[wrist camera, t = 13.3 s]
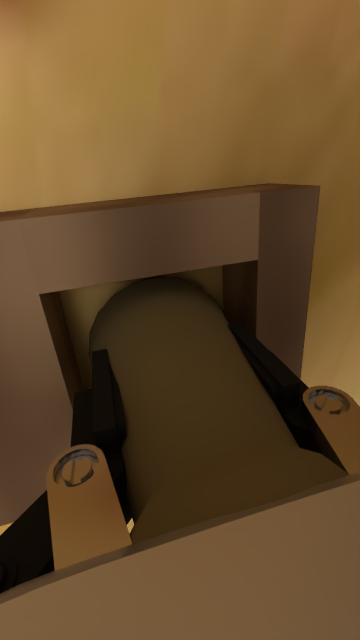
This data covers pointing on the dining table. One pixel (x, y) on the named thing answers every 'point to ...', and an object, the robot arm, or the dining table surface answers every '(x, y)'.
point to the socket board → (126, 264)
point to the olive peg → (194, 412)
